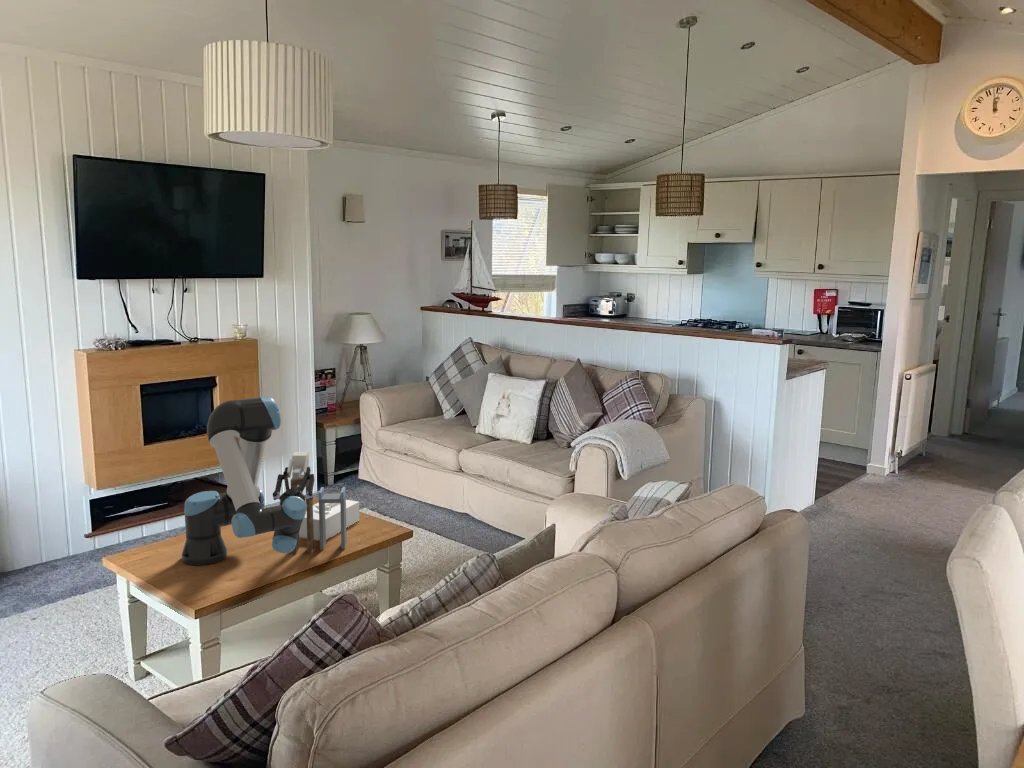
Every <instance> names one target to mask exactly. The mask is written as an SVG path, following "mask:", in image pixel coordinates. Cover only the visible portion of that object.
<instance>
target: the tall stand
mask: <svg viewBox="0 0 1024 768" xmlns="http://www.w3.org/2000/svg"><path fill="white" fill-rule="evenodd" d="M303 477H304V474H301V476H300V478H299V479H293V478H292V477H291V479H290V489H297V487H298V486H299V485H300V483H301V481H302V479H303ZM308 485H309V481H308V483H307V484H306V486H305V494H306V493H307V492H308ZM313 500H314V498H313V499H309V498H308V499H305V503H306V505H307V509H306V513H307V538H306V539H307V541H306V543H307V544H306V545H307V546H306V547H307V554H308V555H309V554H312V553H313V550H314V548H315V540H314V531H313V505H314V501H313ZM300 547H301V546H300V537H299V533H298V537H297V543H296V546H295V549H294V550H293V551H292V554H293V555H297V553H298V551H299V549H300Z"/></svg>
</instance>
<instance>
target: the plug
mask: <svg viewBox="0 0 1024 768" xmlns="http://www.w3.org/2000/svg"><path fill="white" fill-rule="evenodd" d="M309 453H310V452H309V451H294V453H293V454H292V456H291V457H292V458H291V459H292V462H293V466H292V471H291V476H292V477H291V479H292V478H293V479H299V478H300V476H301V475H303V473H304V467H305V461H306V459H308V462H309V463H310V454H309ZM308 467H310V465H309V466H308Z"/></svg>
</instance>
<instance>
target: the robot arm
mask: <svg viewBox="0 0 1024 768" xmlns="http://www.w3.org/2000/svg"><path fill="white" fill-rule="evenodd" d="M279 409H280V408H279V406H278V404H277V402H276V400H275V399H273V397H270V396H259V397H253V398H252V397H251V398H242V399H240V398H239V399H233V400H232V399H231V400H226V401H223V402H221V403H220V404H218V405H217V406H216V407H215V408H214V409H213V410H212V412H211V413H210V415H209V418H208V421H207V425H206V435H207V436H206V437H207V440H208V442H209V445H210V446H211V447H213V448H214V450H215V453H216V456H217V459H218V462H219V465H220V468H221V470H222V473H223V477H224V480H225V483H226V485H227V487H226V490H225V491H226V493H219V492H218V491H217V490H205V491H200V492H197V493H194V494H192V495H190V496H189V497H188V498H186V500H185V502H184V509H183V514H184V522H185V523H184V525H185V542H184V546H183V549H182V553H181V561H182V563H183V562H184V563H183V564H185V563H186V564H185V565H188V564H191V565H190V566H205V565H206V564H208V565H212V564H211V563H213V564H216V563H219V562H221V561H223V560H225V559H226V557H228V548H227V547H226V544H225V541H224V539H223V536H222V530H221V529H222V527H226V526H227V527H228V526H231V528H232V532H233V534H234V536H235V537H237V538H240V539H241V538H248V537H249V538H250V537H254V536H257V535H261V534H264V533H270V532H273V535H272V538H271V539H272V540H271V541H272V542H271V547H272V549H273V550H274V551H275V552H276V553H280V554H281V553H282V554H289V553H293V550H294V549H295V546H296V543H297V537H298V533H299V531H300V527H301V524H302V521H303V519H304V517H305V514H306V509H307V505H306V499H308V498H309V499H313V500H314V496H313V495H314V494H313V491H314V485H315V474H314V473H311V471H312V470H311V466H310V461H309V462H308V459H306V461H305V467H304V472H303V475H304V477H303V479H302V481H301V483H300V485H298V487H297V489H291V488H290V483H289V478H291V476H292V472H293V462H292V458H290V459H289V461H288V466H286V467H285V468H284V471H283V474H281V473H278V475H277V479H276V484H275V489H274V491H273V492H272V498H273V500H274V501H277V500H279V505H274V506H270V507H265V497H264V493H263V491H262V490H261V489H260V487H259V486H258V483H259V478H260V477H259V476H260V472H261V468H262V467H261V466H262V462H263V456H264V451H265V448H266V447H265V445H266V442H267V441H268V440H269V439H271V437H272V434H273V431H276V430H278V429H280V428H281V424H282V421H281V420H282V419H281V413H280V410H279ZM308 466H309V467H308ZM283 481H284V487H285V491H284V492H283V493H282V494H281V490H282V484H283ZM308 481H309V485H308V492H307V493H306V492H305V494H304V490H305V489H306V484H307V483H308ZM218 561H219V562H218ZM215 562H216V563H215ZM206 566H207V565H206Z"/></svg>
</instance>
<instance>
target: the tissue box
mask: <svg viewBox="0 0 1024 768" xmlns="http://www.w3.org/2000/svg"><path fill="white" fill-rule="evenodd" d="M359 520H360V501H356V500H351V499H346V528H347V527H348V528H350V527H351V526H350V525H352V524H354V523H355V522H357V521H359ZM359 522H360V521H359ZM357 523H358V522H357ZM355 524H356V523H355ZM355 524H354V525H355ZM325 526H326V539H327V540H329V539H330V538H329V537H331V538H332V537H335V536H336V535H337V533H338V534H340V533H341V509H340V503H325ZM349 526H350V527H349ZM352 526H353V525H352ZM348 528H347V529H348ZM313 531H314V541H318V540H320V529H319V502H317V503H315V504H314V503H313ZM299 538H301V539H302V538H303V539H307V513H306V514H305V517H304V519H303V521H302V524H301V527H300V531H299ZM328 538H329V539H328Z"/></svg>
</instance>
